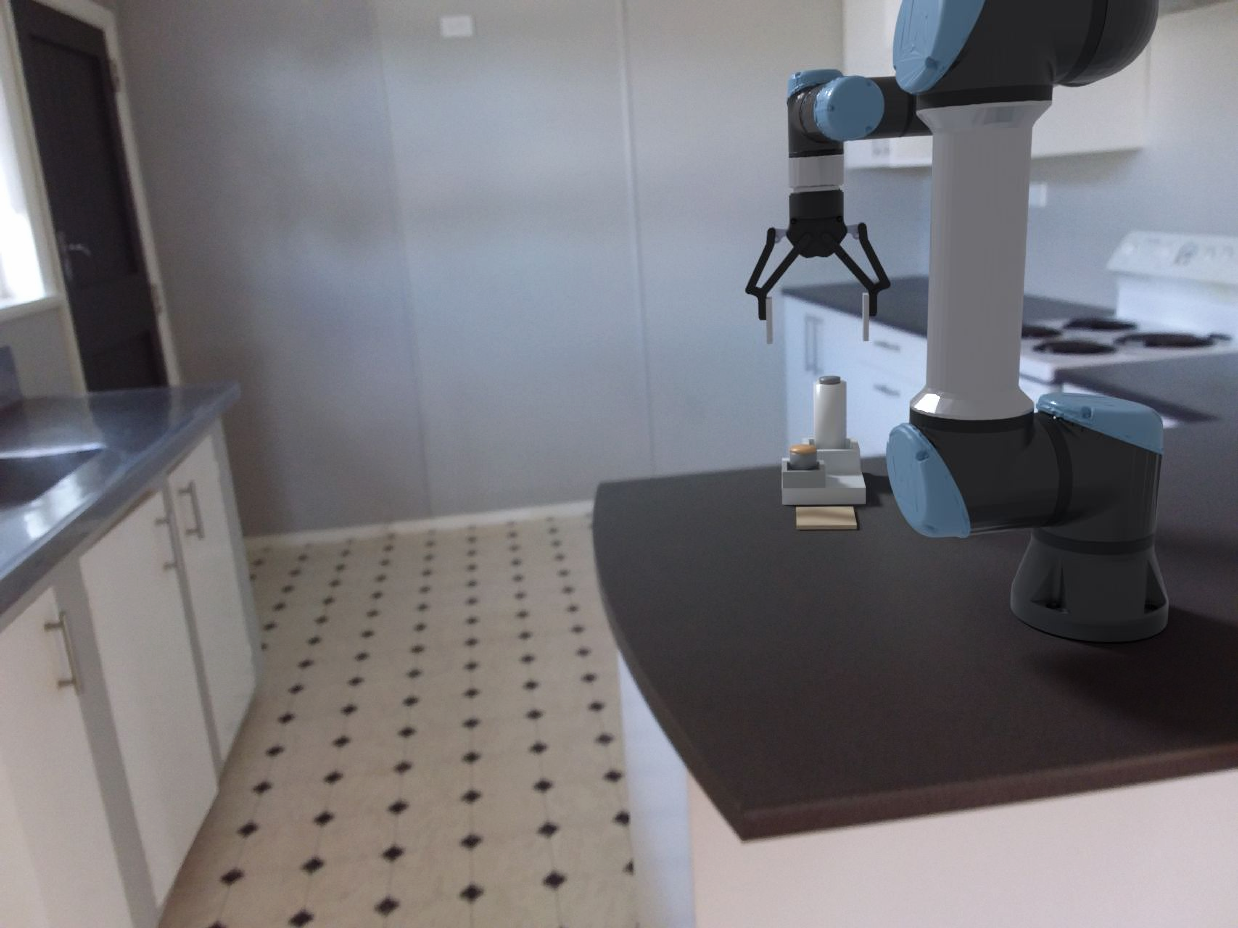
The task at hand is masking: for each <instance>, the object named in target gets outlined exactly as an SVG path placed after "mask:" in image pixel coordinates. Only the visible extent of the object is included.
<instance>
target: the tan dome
mask: <svg viewBox="0 0 1238 928" xmlns="http://www.w3.org/2000/svg"><path fill="white" fill-rule="evenodd" d="M788 450H789V458H790V469H792V470H796V471H799V470H814V469H816V468H817V447H816V446H814V445H808V444H802V443H801V444H794V445H791V446H790V447H789V448H788Z"/></svg>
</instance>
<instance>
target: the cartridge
mask: <svg viewBox="0 0 1238 928" xmlns="http://www.w3.org/2000/svg"><path fill="white" fill-rule="evenodd" d="M812 384H813V385H812V387H813V389H812V391H813V395H812V396H813V398H812V400H813V404H812V405H813V438H814V446H816V447H817V450H821V449H847V437H848V436H847V433H848V431H847V428H848V427H847V425H848V424H847V422H848V420H847V418H848V417H847V414H848V413H847V410H848V409H847V406H848V405H847V399H848V398H847V397H848V395H847V387H848V386H847V384H848V383H847V381H846V380H842V379H841V376H839V375H822V376H819V378H818V380H816V381H813V383H812Z"/></svg>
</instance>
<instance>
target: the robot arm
mask: <svg viewBox="0 0 1238 928" xmlns="http://www.w3.org/2000/svg"><path fill="white" fill-rule="evenodd" d="M1159 5H1160V0H902V1H901V3H900V5H899V10H898V14H897V17H896V22H895V23H896V24H895V27H894V32H893V33H894V34H893V41H892V42H893V43H892V67H893V69H894V70H895V74H894V75H893V76H892V75H891V76H887V75H886V76H871V77H869V76H868V77H866V76H863V75H856V74H855V75H843V72H842V71H841V70H840V69H837V68H820V69H809V70H803V71H797V72H794V73H792V74H791V75H790V76H789V78H788V81H787V97H786V107H787V139H788V140H787V143H788V147H787V148H788V161H787V162H788V163H787V164H788V165H787V166H788V170H787V171H788V187H789V188H790V189H793V190H792V192H790V194H789V195H788V216H789V217H788V218H789V219H788V227H787V228H779V227H778V228H777V227H775V226H770V227H769V228H767V230H766V241H765V245H764V247H763V250H762V252H761V254H760V256H759V258H758V260H757V262H756V265H755V266H754V269H753V271H752V273H751V276H750V277H749V280H748V281H747V285H746V286H745V289H744V291H745V294H747V295H750V296H754V297H756V298H757V310H758V313H757V315H758V316H757V317H758V319H759V321H766V322H765V323H766V324H765V325H766V345H773V341H774V339H773V337H774V334H773V332H774V331H773V329H774V327H773V296H768V294H769V293H770V292H771V290H772V289H773V288H774V287H775V286H776V284H777V283H778V281H780V280H781V278H782V277H783V275H784V274H785V273H786V272H787V270H788V269H789V268H790V267H791V266H792V264H793V263H794V262H795V261H796V260H797V258H798V257H799V256H801V257H802V258H805V259H812V258H815V257H819V258H829V257H831V256H833V254H835V255H836V257H837V258H838V259H839V260H840V261H841V262H842V263H843V265H844V266H845V267H846V268H847V269H848V270H849V271H850V272H851V273H852V275H853V276H854V277H855V279H856V280H858V281H859V283H861V285H862V287H864V288H865V289H866V290H867V292H862V336H861V337H862V338H861V339H862V341H863V342H869V341H870V331H869V330H870V317H872V318H873V317H876V316H877V315H878V294H879V293H880V292H881V291H884V290H887V289H890V288H891V285H892V283H891V281H890V279H889V277H888V274H887V273H886V271H885V270H884V267H883V265H882V263H881V261H880V259H879V257H878V256H877V254H876V252H875V249H874V247H873V245H872V243H871V241H870V240H869V237H868V236H869V234H868V227H867V224H866V223H865V222H864V221H861V222H858V223H857V224H850V225H846V223H845V218H844V217H845V214H844V213H845V212H844V211H845V203H844V202H845V200H844V199H845V198H844V197H845V192H844V191H843V190H842V189H841V188H840V186H843V184H845V178H844V177H845V176H844V175H845V156H844V154H845V147H844V145H845V144H844V143H846V142H854V141H867V140H868V141H869V140H881V139H883V140H884V139H885V140H886V139H897V138H898V139H899V138H907V137H908V138H909V137H911V138H912V137H930V136H932V150H931V152H932V155H931V156H932V157H931V186H930V187H931V188H930V189H931V191H930V193H931V194H930V195H931V196H930V219H929V220H930V224H929V225H930V226H929V227H930V229H929V258H928V259H929V261H928V262H929V263H928V296H927V297H928V298H927V299H928V300H927V328H926V329H927V336H926V337H927V338H926V373H925V385H924V386H925V387H924V386H923V388H922V389H921V390H920V391H919V392H917V393H916V395H914V396H913V397H912V398H911V399H910V400H909V412H908V413H909V416H908V417H909V418H908V422H902V423H899V425H896V426H894V427H892V429H891V430H890V431H889V434H888V439H887V440H886V441H887V442H886V447H885V454H886V457H885V459H886V467H887V475H888V478H889V479H888V480H889V485H890V487H891V490H892V493H893V496H894V499H895V501H896V504H897V505H898V506H897V507H898V508H899V510H900V512H901V514H902V515H903V517H904V519H905V521H906V522H907V523H908V524H909V525H910V526H911V527H912V529H913V530H915V531H916V532H917V533H919V534H920V535H922V536H925V537H928V538H948V537H950V538H951V537H957V538H960V539H961V538H963V539H965V538H968V537H969V536H975V535H976V536H978V535H985V534H993V533H995V534H996V533H1003V532H1012V531H1019V530H1030V529H1031V533H1030V540H1029V543H1028V545H1027V548H1026V550H1025V552H1024V555H1023V557H1022V560H1021V561H1020V564H1019V566H1018V569H1017V571H1016V574H1015V575H1014V578H1013V581H1012V583H1011V588H1010V604H1009V605H1010V609H1011V612H1012V613H1013V614H1014V615H1015V616H1016V617H1017V618H1018V620H1021V621H1022V622H1024V623H1026V625H1029V626H1031V627H1032V628H1035V629H1038V630H1040V631H1042V632H1045V633H1048V634H1052V635H1055V636H1060V637H1064V638H1067V639H1071V640H1072V639H1074V640H1078V641H1079V640H1080V641H1087V642H1098V643H1099V642H1100V643H1101V642H1102V643H1121V642H1124V643H1125V642H1133V641H1139V640H1144V639H1147V638H1150V637H1153V636H1155V635H1157V634H1159V633H1161V632H1162V631H1163V630H1164V629H1165V628H1166V627H1167V624H1168V618H1169V606H1170V605H1169V603H1170V602H1169V597H1168V594H1167V590H1166V587H1165V586H1166V585H1165V584H1164V580H1163V576H1162V573H1161V570H1160V566H1159V563H1158V559H1157V555H1156V551H1155V541H1156V530H1157V529H1156V528H1157V519H1158V508H1159V506H1158V504H1159V496H1160V495H1159V492H1160V484H1161V483H1160V482H1161V473H1162V472H1161V471H1162V470H1161V469H1162V460H1163V456H1164V455H1165V451H1166V450H1165V449H1164V421H1163V419H1162V417H1161V415H1160V414H1159V412H1158V411H1156V409H1154V408H1153V407H1150V406H1148V405H1145V404H1143V403H1139V402H1136V401H1131V400H1127V399H1122V398H1118V397H1113V396H1105V395H1099V394H1092V393H1091V394H1090V393H1079V392H1059V391H1058V392H1047V393H1044V394H1040V396H1039V398H1038V399H1037V403H1035V402H1034V401H1033V400H1032V398H1030V396H1028V395H1027V394H1026V392H1024V391H1023V389H1021V387H1020V384H1019V383H1020V367H1021V349H1022V347H1021V346H1022V332H1023V331H1022V330H1023V328H1022V327H1023V311H1024V296H1025V295H1024V292H1025V275H1026V258H1027V257H1026V255H1027V254H1026V253H1027V235H1028V234H1027V233H1028V219H1029V218H1028V217H1029V216H1028V215H1029V202H1030V201H1029V200H1030V198H1029V196H1030V180H1031V177H1030V176H1031V165H1032V164H1031V163H1032V162H1031V161H1032V143H1033V128H1034V126H1035V124H1036V122H1037V121H1038V120H1039V119H1040V118H1041V117H1042V115H1044V114H1045V113H1046V111H1048V110H1049V109H1050V107H1052V105H1053V93H1054V92H1053V91H1054V88H1056V87H1060V86H1061V87H1065V88H1079V87H1081V88H1082V87H1085V86H1089V85H1092V84H1094V83H1096V82H1098V81H1101V80H1103V79H1106V78H1109V77H1111V76H1113V75H1116V74H1118V73H1119V72H1121V71H1123V70H1124V69H1125V68H1127V67H1128V66H1130V65H1131V64H1132V63H1134V61H1135V60H1136V59H1137V58H1138V57H1139V56H1140V55H1141V54H1143V52H1144V50H1145V49H1146V47H1147V46H1148V45H1149V43H1150V41H1151V39H1152V37H1153V34H1154V32H1155V30H1156V26H1157V22H1158V18H1159V8H1160V7H1159ZM847 234H850V235H851V236H852V238H853V239H854V240H858V242H859V244H860V246H861V248H862V250H863V251H864V254H865V256H866V257H867V258H866V259H868V262H869V264H870V265H871V267H872V269H873V271H874V274H875V275H876V277H877V280H878V281H876V282H873V280H872V279H871V278H870V276H868V275H867V273H865V271H864V270H863V269H862V268H861V267H860V266H859V264H857V263H856V262H855V260H854V259H853V258H852V257H851V256H850V255H849V253H848V252H847V251H846V250H845V249H844V248H843V246H841V243H842V242H843V240H845V238H846V236H847ZM784 237H786V239H787V240H788V242H789V243H790V245H792V249H790V250H789V252H788V253H787V255H786V256H785V257H784V258H783V259H782V261H781V262H780V264H779V265H778V266H777V267H776V269H775V270H774V271H773V272H772V273H771V275H770V276H769V277H768V279H767V280H766V281H765V282H764V284H762V286H761V287H759V286H757V284H758V283H759V281H760V278H761V276H762V274H763V271H764V269H765V267H766V264H767V263H768V261H769V259H770V258H771V255H772V252H773V250H774V248H775V246H776V245H775V244H777V245H778V244H779V243H781V241H782V239H783V238H784ZM1035 409H1036V410H1037V412H1035Z"/></svg>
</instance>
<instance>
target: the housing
mask: <svg viewBox="0 0 1238 928" xmlns="http://www.w3.org/2000/svg"><path fill="white" fill-rule="evenodd" d="M801 444H808V445H814V437H802V438H801ZM866 487H867V486H866V484H865V481H864V476H863V472H862V467H861V448H860V445H859V442H858V437H857V436H847V449H821V450H817V468H816V469H814V470H799V471H796V470H792V469H790V457H782V458H781V504H782V506H787V505H790V506H793V505H794V506H795V505H796V506H797V505H800V506H801V505H803V506H804V505H805V506H806V505H811V506H812V505H866V504H867V503H866V502H867V497H866V495H867V491H866V489H867V488H866Z"/></svg>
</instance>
